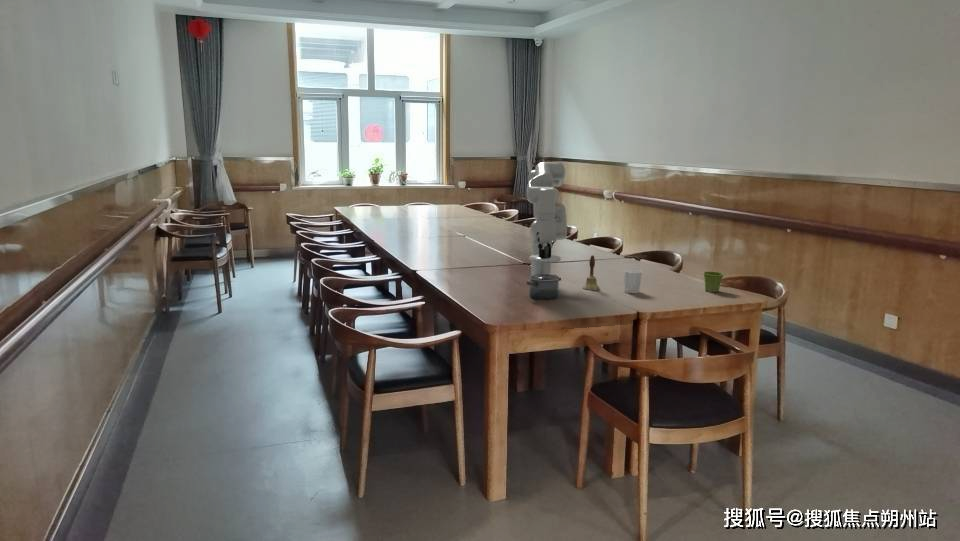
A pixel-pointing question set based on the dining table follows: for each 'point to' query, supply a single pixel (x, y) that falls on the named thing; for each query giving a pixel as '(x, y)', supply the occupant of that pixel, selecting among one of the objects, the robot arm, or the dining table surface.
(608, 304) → the dining table surface
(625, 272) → the white cup
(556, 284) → the pot
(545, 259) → the lid
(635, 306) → the dining table surface
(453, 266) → the dining table surface
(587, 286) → the hand bell
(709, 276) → the plant pot
